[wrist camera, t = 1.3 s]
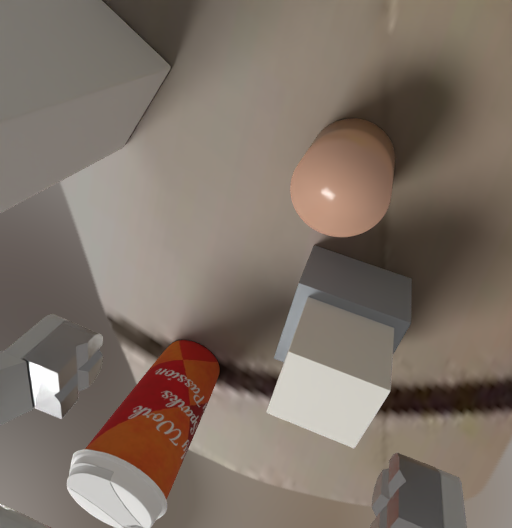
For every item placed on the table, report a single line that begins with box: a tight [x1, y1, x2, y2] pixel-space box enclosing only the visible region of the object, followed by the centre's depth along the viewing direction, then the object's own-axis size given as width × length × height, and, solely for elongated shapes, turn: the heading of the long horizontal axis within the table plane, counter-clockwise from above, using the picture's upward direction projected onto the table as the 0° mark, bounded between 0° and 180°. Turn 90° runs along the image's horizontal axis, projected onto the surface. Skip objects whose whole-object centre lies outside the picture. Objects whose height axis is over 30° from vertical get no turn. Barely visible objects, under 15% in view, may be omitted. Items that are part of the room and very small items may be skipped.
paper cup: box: [67, 340, 220, 528], centre depth 35 cm, size 8×8×14 cm
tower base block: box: [274, 245, 412, 362], centre depth 30 cm, size 7×7×5 cm
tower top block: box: [266, 297, 394, 448], centre depth 26 cm, size 6×6×5 cm
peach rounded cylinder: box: [290, 118, 395, 237], centre depth 24 cm, size 5×5×5 cm
